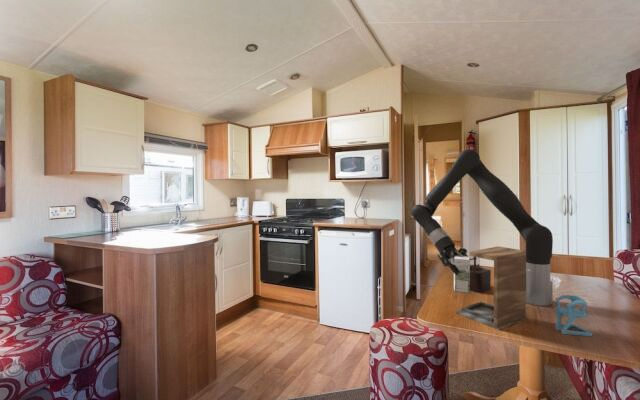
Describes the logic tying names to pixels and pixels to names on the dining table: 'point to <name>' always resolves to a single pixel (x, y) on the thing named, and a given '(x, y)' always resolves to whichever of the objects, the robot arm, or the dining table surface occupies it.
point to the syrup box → (462, 274)
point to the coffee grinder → (479, 277)
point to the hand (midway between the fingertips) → (464, 272)
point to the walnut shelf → (502, 289)
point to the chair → (571, 315)
